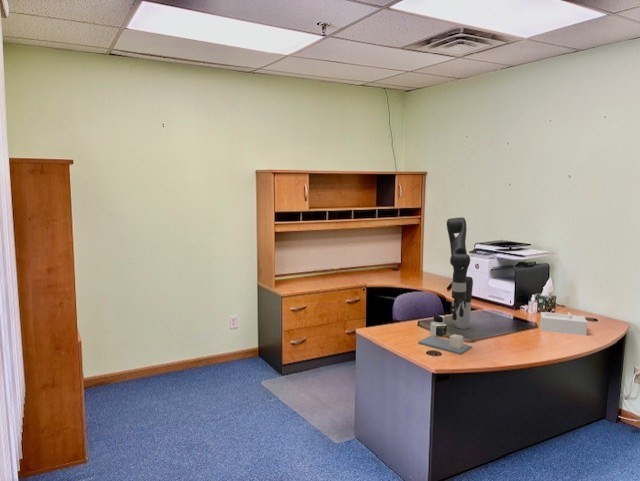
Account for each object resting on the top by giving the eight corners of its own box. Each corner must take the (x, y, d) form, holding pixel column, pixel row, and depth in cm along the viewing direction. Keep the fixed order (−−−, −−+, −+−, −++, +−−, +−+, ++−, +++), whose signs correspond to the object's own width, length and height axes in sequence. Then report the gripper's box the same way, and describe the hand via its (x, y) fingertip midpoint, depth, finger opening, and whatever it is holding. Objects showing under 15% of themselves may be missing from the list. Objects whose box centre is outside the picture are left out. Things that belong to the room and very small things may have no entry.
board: (430, 337, 285) (430, 327, 284) (471, 348, 268) (472, 337, 267) (418, 343, 275) (418, 333, 274) (460, 354, 257) (461, 343, 257)
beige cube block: (453, 344, 270) (454, 333, 270) (463, 346, 267) (463, 336, 266) (449, 346, 266) (449, 336, 265) (458, 349, 263) (459, 338, 262)
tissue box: (586, 335, 291) (587, 318, 290) (541, 331, 300) (542, 314, 299) (582, 329, 304) (584, 312, 303) (539, 324, 313) (541, 308, 312)
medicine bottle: (435, 337, 286) (436, 317, 284) (430, 333, 293) (430, 314, 291) (446, 336, 288) (447, 317, 286) (440, 332, 295) (441, 313, 293)
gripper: (458, 286, 270) (457, 314, 272) (446, 291, 259) (445, 319, 261) (471, 288, 265) (469, 316, 267) (459, 293, 254) (458, 322, 257)
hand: (457, 318), depth 264 cm, fingers open, 8 cm apart
